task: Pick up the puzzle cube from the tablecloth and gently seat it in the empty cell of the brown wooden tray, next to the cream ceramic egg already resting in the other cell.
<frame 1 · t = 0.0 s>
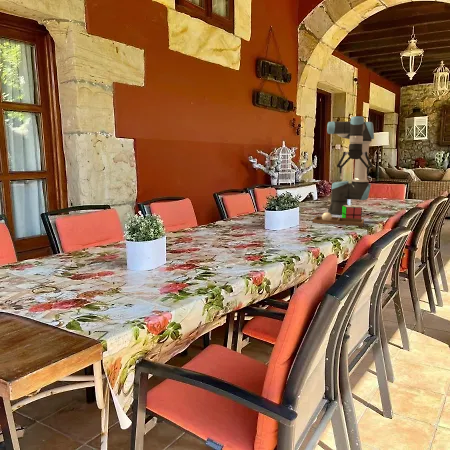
hand: (353, 179, 255), 28 cm above the table, fingers open, 13 cm apart
puzzle cube: (351, 221, 275), on the table
brown wooden tray: (338, 224, 264), on the table
ceramic egg: (326, 221, 267), point 1 cm above the table, touching brown wooden tray
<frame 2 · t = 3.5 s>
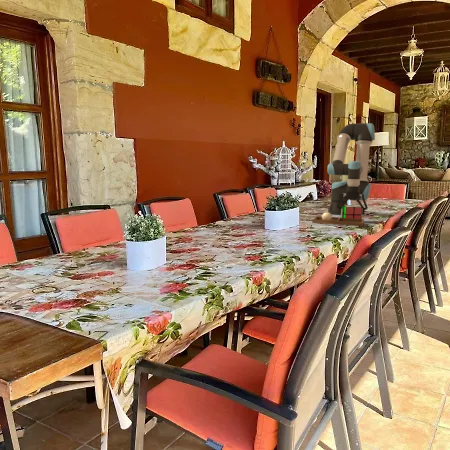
hand: (351, 219, 275), 1 cm above the table, fingers closed on puzzle cube, 12 cm apart
puzzle cube: (351, 221, 275), on the table, touching gripper
everything else where it was.
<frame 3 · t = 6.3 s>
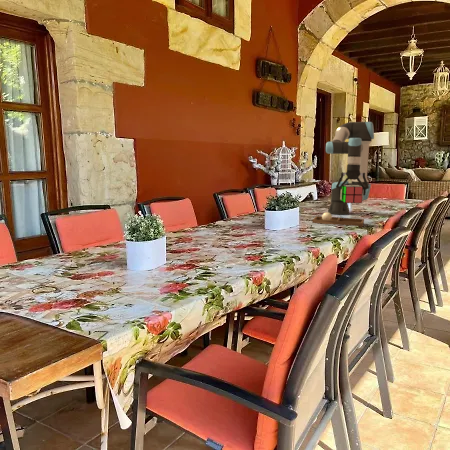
hand: (351, 200, 259), 15 cm above the table, fingers closed on puzzle cube, 12 cm apart
puzzle cube: (351, 202, 259), point 14 cm above the table, touching gripper
everything else where it was.
when the fingers open (4 cm above the table, at t = 9.2 s): puzzle cube drops 2 cm, resting on brown wooden tray.
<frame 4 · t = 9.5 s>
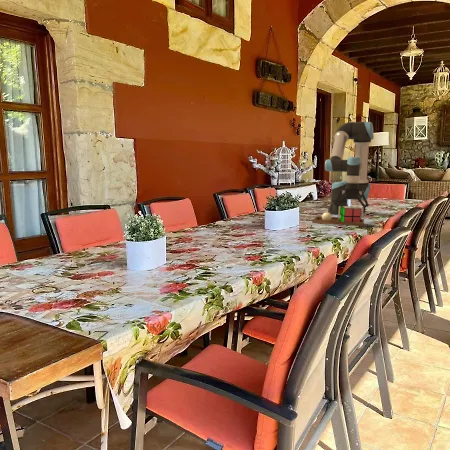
hand: (350, 217, 261), 5 cm above the table, fingers open, 13 cm apart
puzzle cube: (350, 223, 262), point 1 cm above the table, touching brown wooden tray
everything else where it was.
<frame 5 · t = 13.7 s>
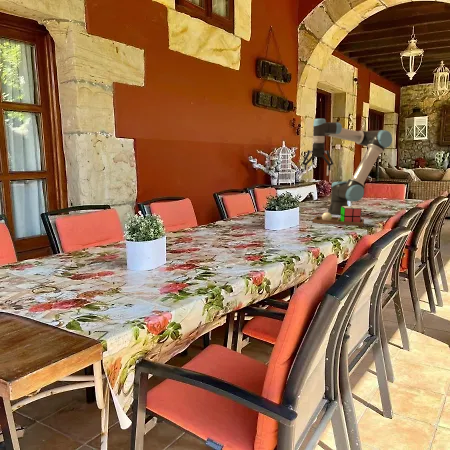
hand: (317, 175, 284), 29 cm above the table, fingers open, 13 cm apart
nothing on the table moved.
at the end: puzzle cube inside the target area on the brown wooden tray (0.1 cm from its centre), point 0.8 cm above the brown wooden tray's base; puzzle cube tilted 0°; the gripper is holding nothing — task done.
